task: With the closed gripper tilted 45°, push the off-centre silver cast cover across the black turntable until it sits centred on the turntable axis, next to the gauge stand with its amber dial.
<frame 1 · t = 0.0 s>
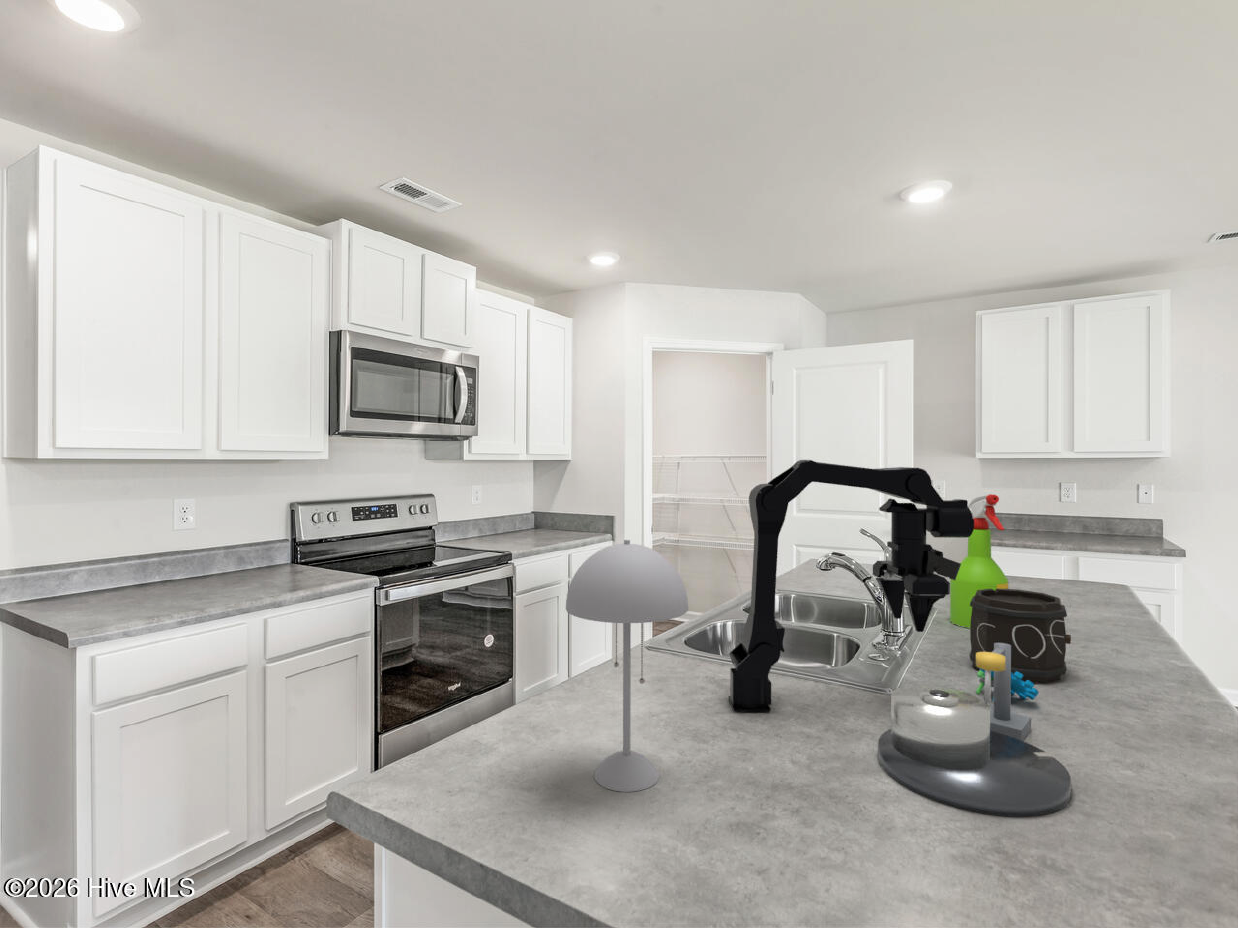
hand: (908, 624, 118), 15 cm above the countertop, tool pointing down, fingers open, 9 cm apart
lamp: (626, 776, 93), on the countertop
gauge stand: (1001, 729, 108), on the countertop
turntable: (968, 762, 94), point 1 cm above the countertop, hinge at 0.0°, touching cover
spray bottle: (983, 627, 174), on the countertop
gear: (1004, 700, 122), on the countertop
wooden barrel: (1018, 671, 138), on the countertop
cover: (938, 748, 97), point 2 cm above the countertop, touching turntable
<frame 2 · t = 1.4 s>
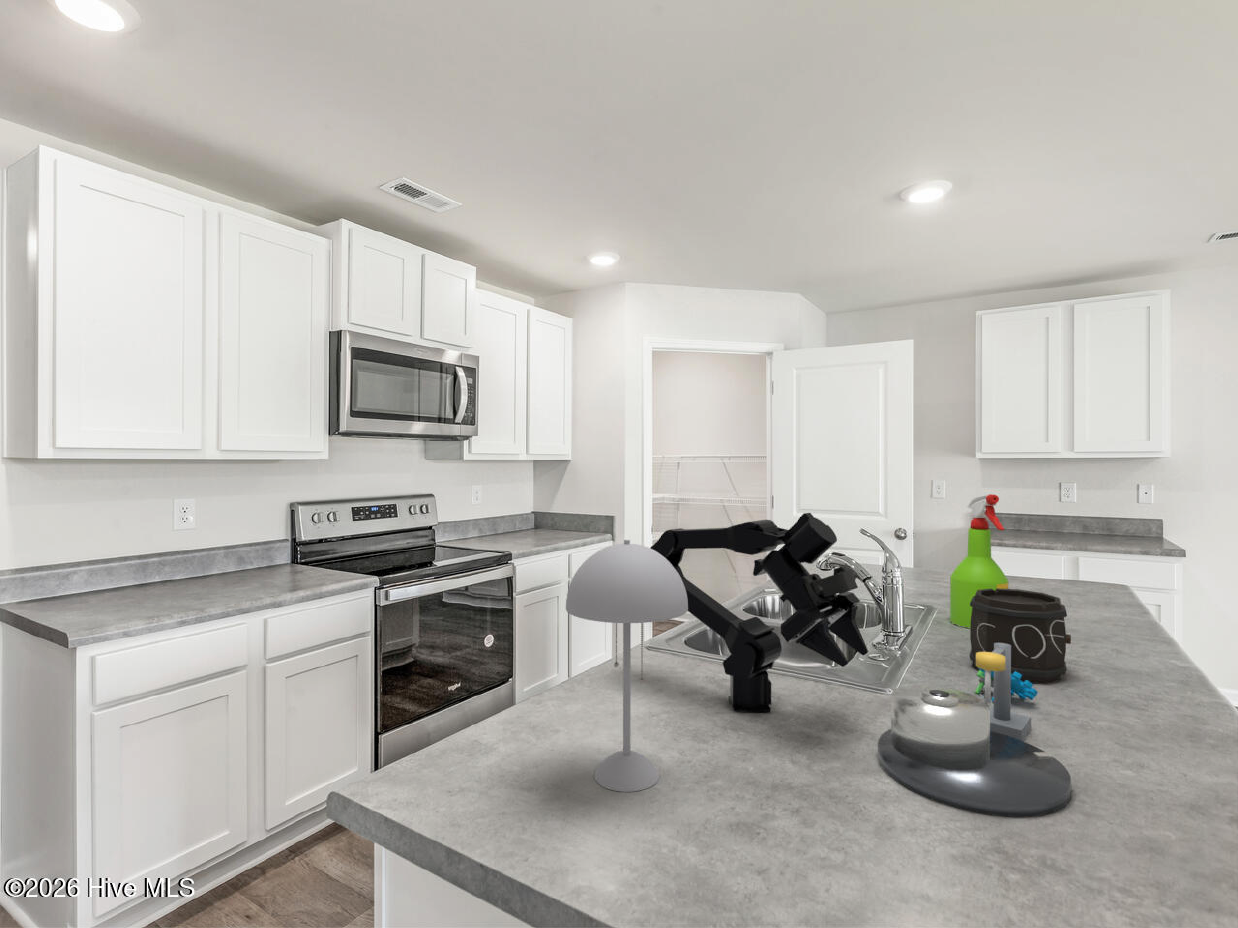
hand: (856, 659, 105), 12 cm above the countertop, tool tilted 45°, fingers open, 8 cm apart
nothing on the countertop moved.
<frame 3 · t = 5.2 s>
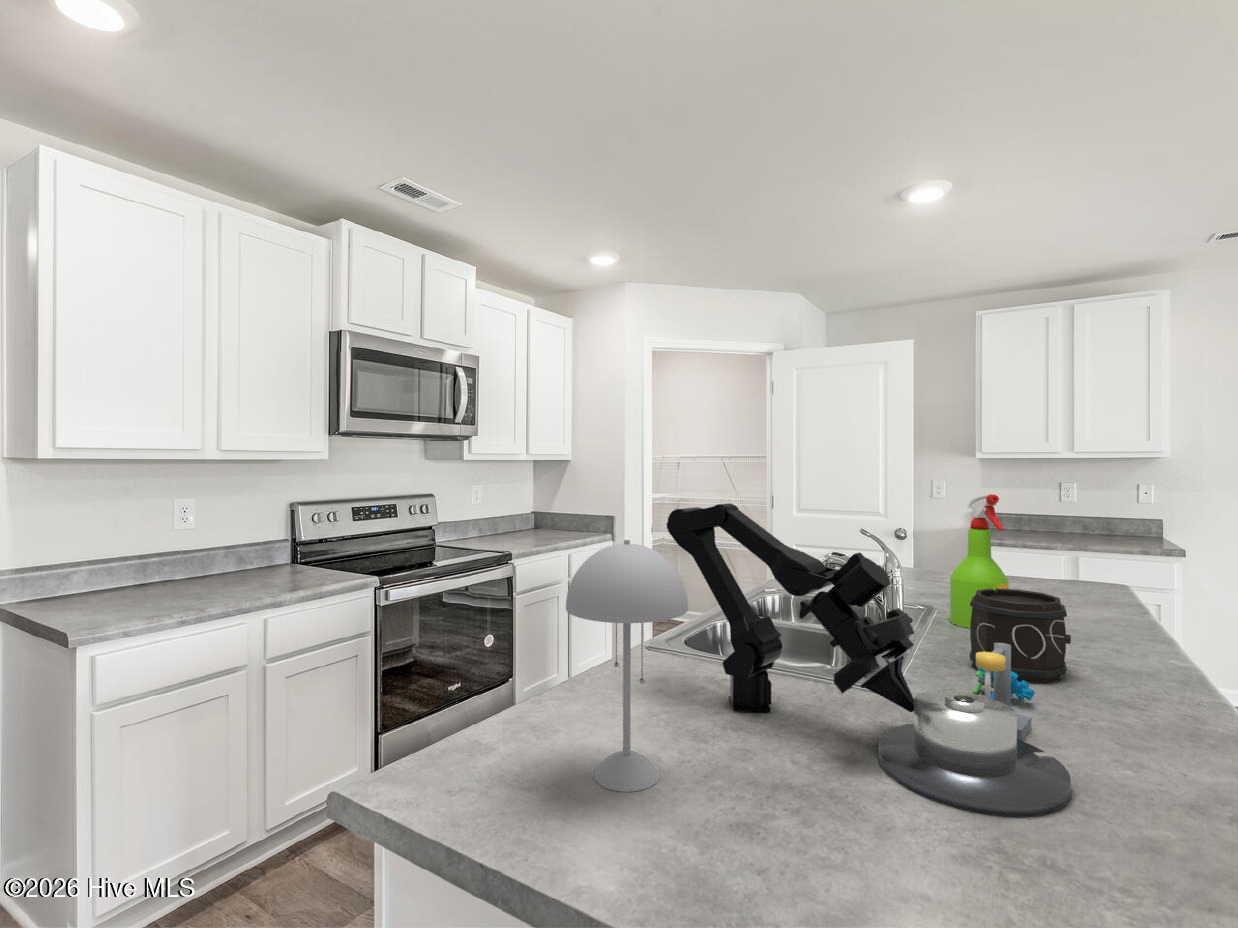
hand: (914, 710, 99), 7 cm above the countertop, tool tilted 45°, fingers closed, pressing on cover
turntable: (968, 762, 94), point 1 cm above the countertop, hinge at 0.0°
cover: (963, 755, 95), point 2 cm above the countertop, touching gripper
everything else where it was.
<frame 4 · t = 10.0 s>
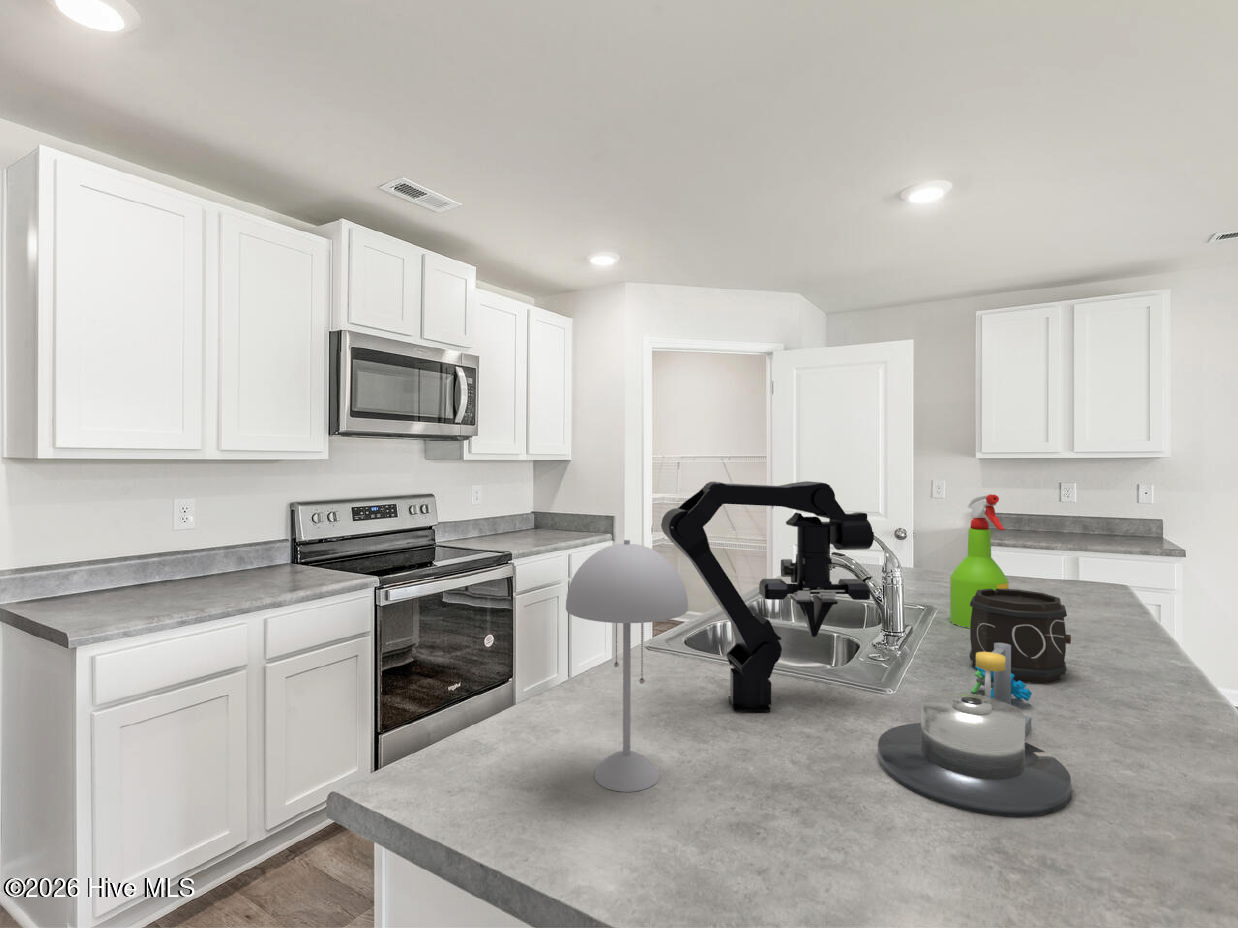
hand: (813, 636, 120), 12 cm above the countertop, tool pointing down, fingers closed
turntable: (968, 762, 94), point 1 cm above the countertop, hinge at 0.0°, touching cover
cover: (971, 757, 94), point 2 cm above the countertop, touching turntable
at the end: cover 0.3 cm from the turntable (horizontally); cover tilted 0°; cover touching turntable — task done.
